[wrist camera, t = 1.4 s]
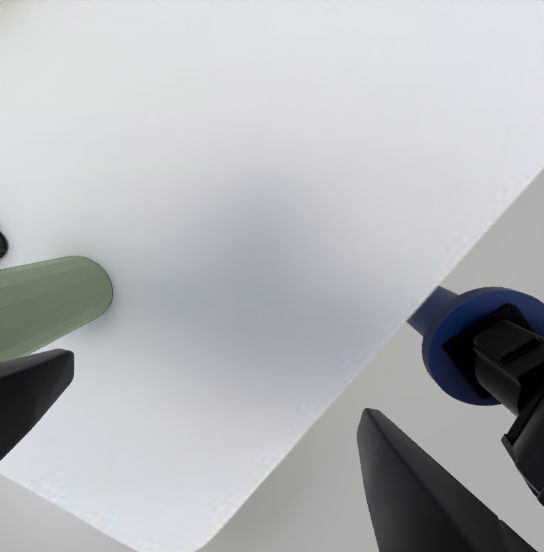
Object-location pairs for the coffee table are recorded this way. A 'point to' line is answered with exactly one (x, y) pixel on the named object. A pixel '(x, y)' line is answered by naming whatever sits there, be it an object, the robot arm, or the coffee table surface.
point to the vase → (48, 302)
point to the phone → (2, 246)
